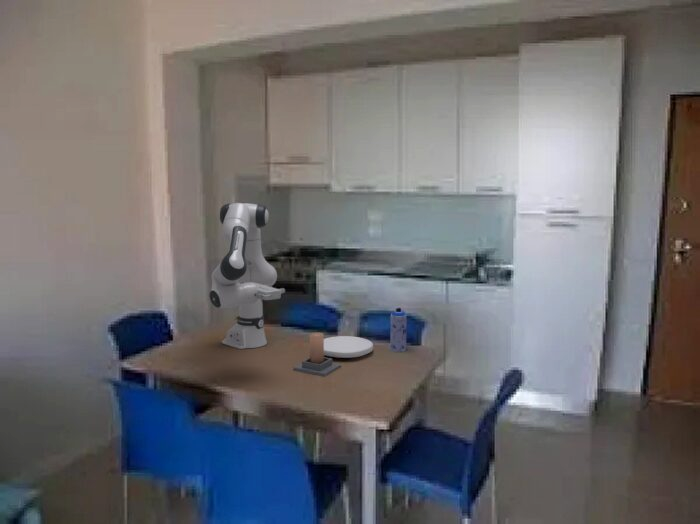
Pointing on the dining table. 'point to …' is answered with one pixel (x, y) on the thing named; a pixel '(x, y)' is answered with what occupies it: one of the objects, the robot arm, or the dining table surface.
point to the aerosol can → (398, 331)
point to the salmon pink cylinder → (316, 347)
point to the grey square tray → (317, 367)
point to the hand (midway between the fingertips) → (277, 288)
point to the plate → (347, 346)
